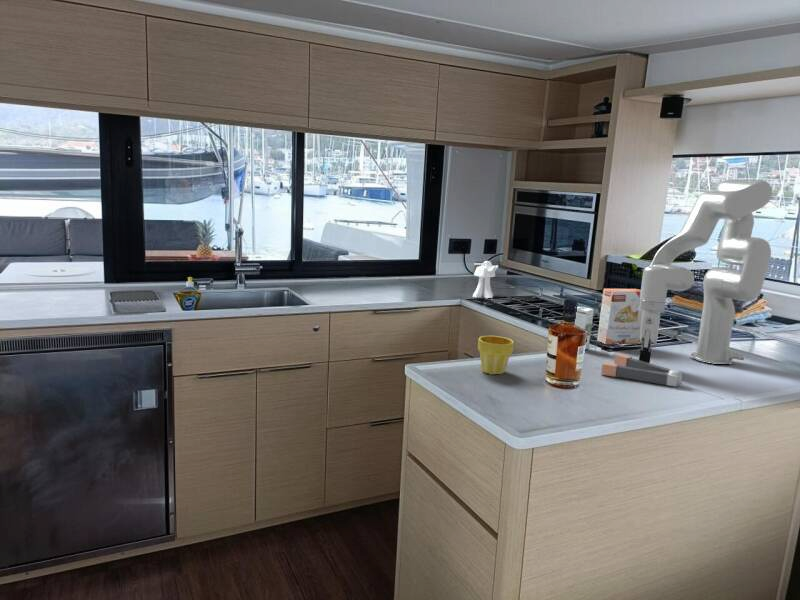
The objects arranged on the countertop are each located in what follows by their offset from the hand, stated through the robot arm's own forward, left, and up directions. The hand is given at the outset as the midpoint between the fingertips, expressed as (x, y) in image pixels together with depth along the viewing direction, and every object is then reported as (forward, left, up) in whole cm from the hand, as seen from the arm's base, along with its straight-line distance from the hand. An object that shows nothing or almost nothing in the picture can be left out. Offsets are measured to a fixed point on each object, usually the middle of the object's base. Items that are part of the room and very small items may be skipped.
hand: (644, 362), depth 190 cm
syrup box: (+22, -11, -2) cm, 24 cm away
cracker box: (+10, -23, -2) cm, 25 cm away
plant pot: (+40, +32, -2) cm, 51 cm away
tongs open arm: (0, +7, -1) cm, 7 cm away
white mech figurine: (+81, -88, -2) cm, 119 cm away
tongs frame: (0, +15, -2) cm, 15 cm away
